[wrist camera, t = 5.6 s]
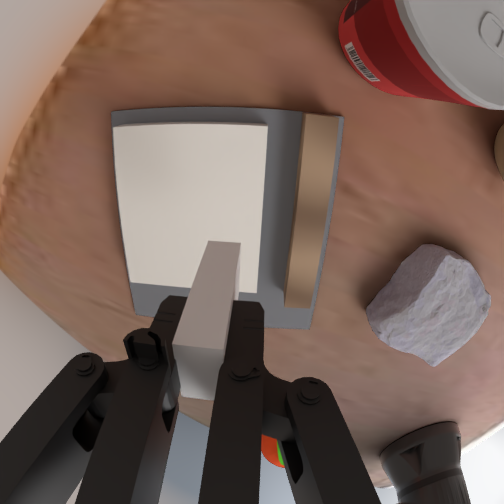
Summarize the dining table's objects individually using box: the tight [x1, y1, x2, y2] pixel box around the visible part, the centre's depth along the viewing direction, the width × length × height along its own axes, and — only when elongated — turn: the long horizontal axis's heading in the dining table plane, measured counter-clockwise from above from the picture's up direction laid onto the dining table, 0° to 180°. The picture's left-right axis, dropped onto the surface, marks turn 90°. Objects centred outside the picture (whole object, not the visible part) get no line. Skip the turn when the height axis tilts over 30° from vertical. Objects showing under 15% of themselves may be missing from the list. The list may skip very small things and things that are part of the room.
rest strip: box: [283, 112, 339, 309], centre depth 21 cm, size 14×2×2 cm, turn 177°
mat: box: [111, 107, 344, 329], centre depth 23 cm, size 18×16×1 cm
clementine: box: [261, 435, 285, 468], centre depth 32 cm, size 8×7×7 cm
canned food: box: [338, 0, 504, 110], centre depth 11 cm, size 8×8×11 cm
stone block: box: [366, 244, 491, 367], centre depth 25 cm, size 12×5×10 cm
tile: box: [113, 122, 268, 293], centre depth 21 cm, size 12×2×10 cm
